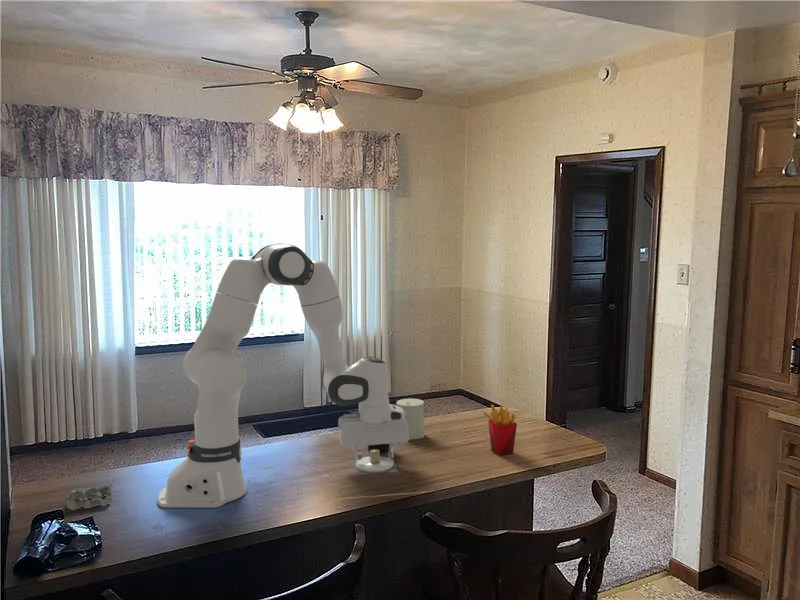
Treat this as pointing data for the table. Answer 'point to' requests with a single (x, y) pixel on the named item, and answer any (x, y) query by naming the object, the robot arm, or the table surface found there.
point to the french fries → (501, 431)
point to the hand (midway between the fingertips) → (374, 458)
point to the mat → (374, 472)
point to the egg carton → (81, 495)
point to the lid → (375, 462)
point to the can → (413, 416)
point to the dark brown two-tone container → (379, 447)
